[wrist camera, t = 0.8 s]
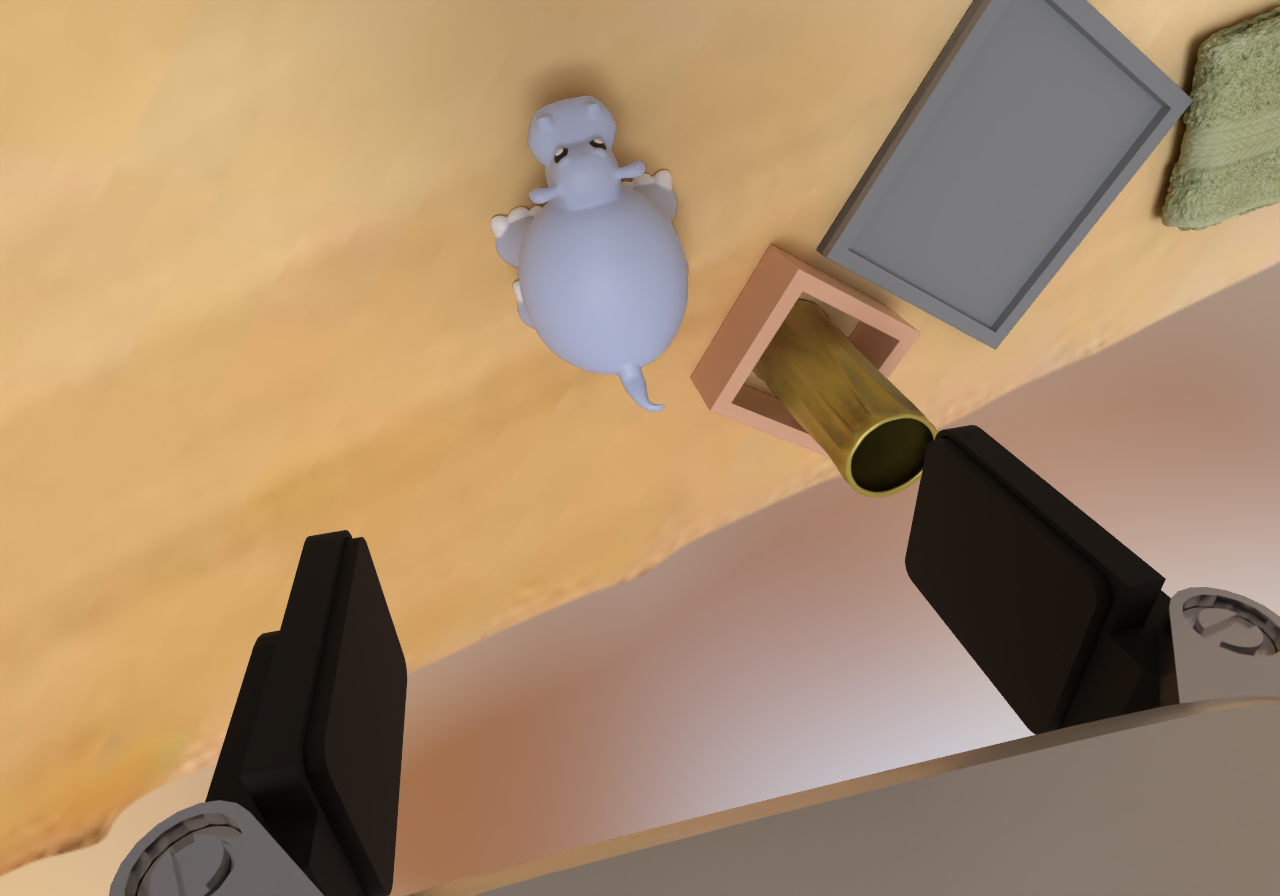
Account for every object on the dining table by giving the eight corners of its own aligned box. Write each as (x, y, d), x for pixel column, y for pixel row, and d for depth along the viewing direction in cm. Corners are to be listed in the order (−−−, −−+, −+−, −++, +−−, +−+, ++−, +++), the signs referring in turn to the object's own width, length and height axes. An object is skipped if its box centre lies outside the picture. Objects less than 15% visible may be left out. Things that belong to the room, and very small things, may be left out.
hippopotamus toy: (651, 61, 38) (703, 84, 30) (696, 317, 46) (745, 387, 39) (452, 114, 37) (451, 152, 29) (535, 364, 46) (551, 444, 38)
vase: (774, 285, 46) (882, 391, 35) (847, 316, 49) (971, 425, 37) (729, 366, 49) (815, 490, 37) (800, 392, 51) (902, 515, 40)
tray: (1008, -55, 38) (1026, -56, 37) (1173, 96, 45) (1193, 100, 44) (816, 249, 45) (826, 257, 44) (982, 340, 52) (995, 349, 51)
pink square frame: (770, 244, 45) (799, 269, 41) (885, 305, 49) (921, 332, 45) (690, 377, 49) (709, 411, 45) (803, 423, 53) (829, 457, 49)
